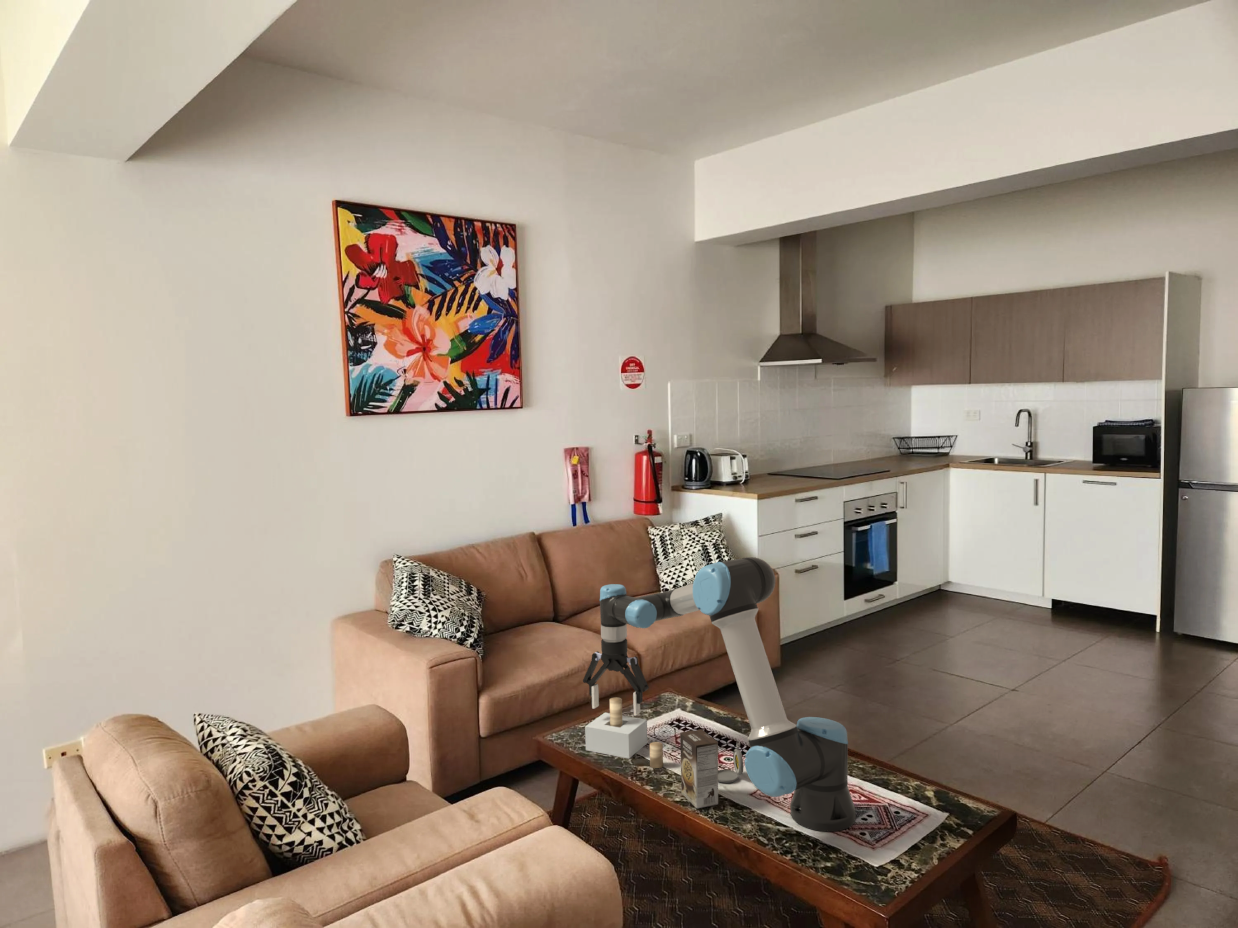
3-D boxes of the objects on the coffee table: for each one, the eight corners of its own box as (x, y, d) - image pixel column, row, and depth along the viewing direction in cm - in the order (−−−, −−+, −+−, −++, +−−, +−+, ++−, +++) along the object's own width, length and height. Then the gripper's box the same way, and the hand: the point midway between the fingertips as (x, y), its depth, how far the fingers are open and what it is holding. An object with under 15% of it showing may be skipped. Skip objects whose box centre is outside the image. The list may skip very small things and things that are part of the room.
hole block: (629, 758, 237) (628, 734, 237) (585, 749, 244) (585, 726, 243) (647, 742, 248) (647, 719, 247) (605, 734, 254) (604, 712, 254)
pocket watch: (707, 778, 224) (707, 741, 223) (728, 768, 229) (728, 732, 228) (731, 788, 217) (730, 750, 217) (752, 778, 223) (751, 741, 222)
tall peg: (619, 749, 243) (618, 702, 242) (608, 747, 245) (607, 700, 244) (625, 745, 246) (624, 698, 245) (614, 743, 248) (613, 696, 247)
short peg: (659, 769, 230) (659, 747, 229) (647, 767, 231) (647, 745, 231) (665, 764, 233) (664, 743, 232) (653, 761, 235) (653, 740, 234)
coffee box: (680, 793, 215) (679, 731, 214) (702, 788, 218) (701, 727, 217) (696, 809, 207) (695, 745, 206) (719, 804, 209) (718, 740, 208)
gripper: (658, 639, 241) (660, 712, 242) (583, 630, 252) (585, 699, 254) (647, 646, 234) (649, 721, 236) (570, 637, 246) (572, 708, 247)
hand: (616, 710), depth 245 cm, fingers open, 13 cm apart
